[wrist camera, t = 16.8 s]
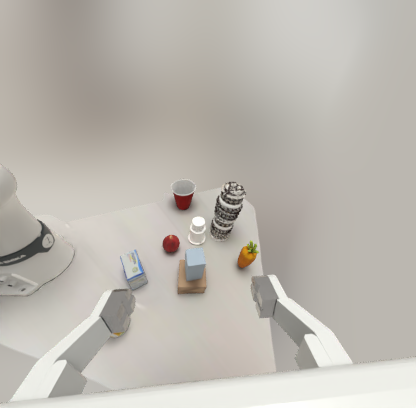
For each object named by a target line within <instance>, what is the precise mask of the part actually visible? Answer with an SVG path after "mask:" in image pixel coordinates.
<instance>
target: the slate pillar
mask: <svg viewBox="0 0 416 408" xmlns="http://www.w3.org/2000/svg"><path fill="white" fill-rule="evenodd" d="M205 265H206V262H205V257H204V252H203V248H195V249H187V250H186V254H185V273H186V281H191V280H196V279H202V276H203V272H204V268H205Z"/></svg>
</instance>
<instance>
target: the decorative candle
mask: <svg viewBox="0 0 416 408" xmlns="http://www.w3.org/2000/svg"><path fill="white" fill-rule="evenodd" d="M221 190H222V191H221V194H220V196H218V198H217V203H216V206H215V216H214V218H213V220H212V223H211V224H212V225H211V227H210V235H211V237H212V238H213V239H214V240H216V241H221V242H222V241H225V240H226V239H228V237H229V234H230V232H231V229H232V227H233V223H234V221H235V220H236V218H237V216H238V215H239V212H240V211H241V208H242V207H243V206H242V205H243V204H242V202H243V198H244V197H245V196H246V191H245V189H244V188H243V186H242V185H240V184H239V183H236V182H229V183H226V184H223V186H222V187H221ZM240 206H241V207H240Z"/></svg>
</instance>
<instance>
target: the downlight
mask: <svg viewBox="0 0 416 408" xmlns="http://www.w3.org/2000/svg"><path fill="white" fill-rule="evenodd" d="M205 229H206V227H205V220H204V219H203V218H202V217H195V218H194V219H193V220H192V224H191V226H190V233H189V235H188V240H189V241H190V243H192V244H194V245H199V244H202V243H203V242H204V241H205Z"/></svg>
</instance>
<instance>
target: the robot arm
mask: <svg viewBox="0 0 416 408" xmlns="http://www.w3.org/2000/svg"><path fill="white" fill-rule="evenodd" d="M16 190H17V182H16V179H15V177H14V175H13V174H12V173H11V172H10V171H9V170H8V169H7V168H6V167H4V166H3V165H1V164H0V295H12V296H28V295H31V294H32V293H34V292H35V291H36V290H37V289H38V288H40V287H41V286H42V285H43V284H45V283H46V282H48V281H50V280H52V279H53V278H55V277H57V276H58V275H59V274H61V273H62V272H63V271H64V270H65V269H66V268H67V267H68V266H69V264H70V263H71V261H72V259H73V256H74V249H73V247H72V245H71V244H69V243H67V242H66V241H65V240H64V238H63V237H62V236H61V235H57V234H55V233H54V232H53V231H51V230H50V229H49V228H48V227H47V226H46V225H45V224H44V223H42V222H41V221H40V220H37V219H36V218H35V217H34V216H33V215H32V214H31V213H30V212H29V211H27V209H26V208H25V207H24V206H23V205H22V204H21V203H20V201H19V200H18V198H17V196H16V194H15V193H16ZM24 289H25V290H24ZM23 290H24V291H23ZM251 293H252V297H253V300H254V301H255V302H256V309H257V312H258V315H259V318H268V317H273V319H274V320H275V321H276V322H277V323H278V324H279V325H280V326H281V328H282V329H283V330H284V331H285V332H286V333H287V334H288V335H289V336H290V338H291V339H292V340H293V341H294V342H295V343H296V344H297V345H298V346H299V350H298V352H297V354H296V357H295V360H296V362H297V364H298V367H299V369H300V370H291V371H282V372H273V373H264V374H255V375H247V376H238V377H229V378H220V379H211V380H202V381H193V382H184V383H175V384H166V385H157V386H149V387H140V388H131V389H122V390H113V391H104V392H95V393H86V394H82V391H83V389H84V387H85V384H86V382H87V380H86V378H85V377H84V376H83V375H82V374H81V372H82V371H83V370H84V368H85V367H86V366H87V365H88V363H89V362H90V361H91V360H92V358H93V357H94V356H95V355H96V354H97V352H98V351H99V350H100V349H101V347H102V346H103V345H104V344H105V342H106V341H107V340H108V339H109V338H110V336H111V335H112V333H120V332H126V330H127V328H128V325H129V322H130V315H131V313H132V312H133V311H134V308H135V302H136V301H135V297H134V295H132V290H131V288H129V289H116V290H106V291H105V292H104V293H103V295H102V296H101V298H100V300H99V302H98V303H97V305H96V307H95V309H94V310H93V312H92V314H91V315H90V317H89V318H86V319H85V320H84V321H83V322H82V323H81V324H80V325H78V326H77V327H76V328H75V329H74V330H73V331H72V332H70V333H69V334H68V335H67V336H66V337H65V338H64V339H62V340H61V341H60V342H59V343H58V344H57V345H56V346H54V347H53V348H52V349H51V350H50V351H49V352H48V353H46V354H45V355H44V356H43V357H42V358H41V359H40V360H38V361H37V363H36V364H35V366H34V367H33V368H32V370H31V371H30V373H29V374H28V375H27V377H26V379H25V380H24V381H23V383H22V384H21V386H20V387H19V389H18V390H17V391H16V393H15V394H14V396H13V397H12V399H11V400H10V401H9V402H6V403H0V408H416V356H415V357H407V358H399V359H390V360H381V361H372V362H363V363H354V364H353V362H352V361H351V359H350V358H349V356H348V355H347V353H346V352H345V350H344V349H343V347H342V346H341V344H340V343H339V341H338V340H337V339H336V337H335V335H334V334H333V332H332V331H331V330H330V329H328V328H327V327H326V326H324V325H323V324H322V323H321V322H320V321H318V320H317V319H316V318H315V317H313V316H312V315H311V314H310V313H308V312H307V311H306V310H304V309H303V308H302V307H301V306H299V305H298V304H297V303H295V302H294V301H293V300H292V299H290V298H289V299H288V298H287V296H286V294H285V292H284V290H283V288H282V286H281V285H280V283H279V281H278V279H277V277H276V276H275V275H264V276H255V277H252V284H251Z"/></svg>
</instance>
